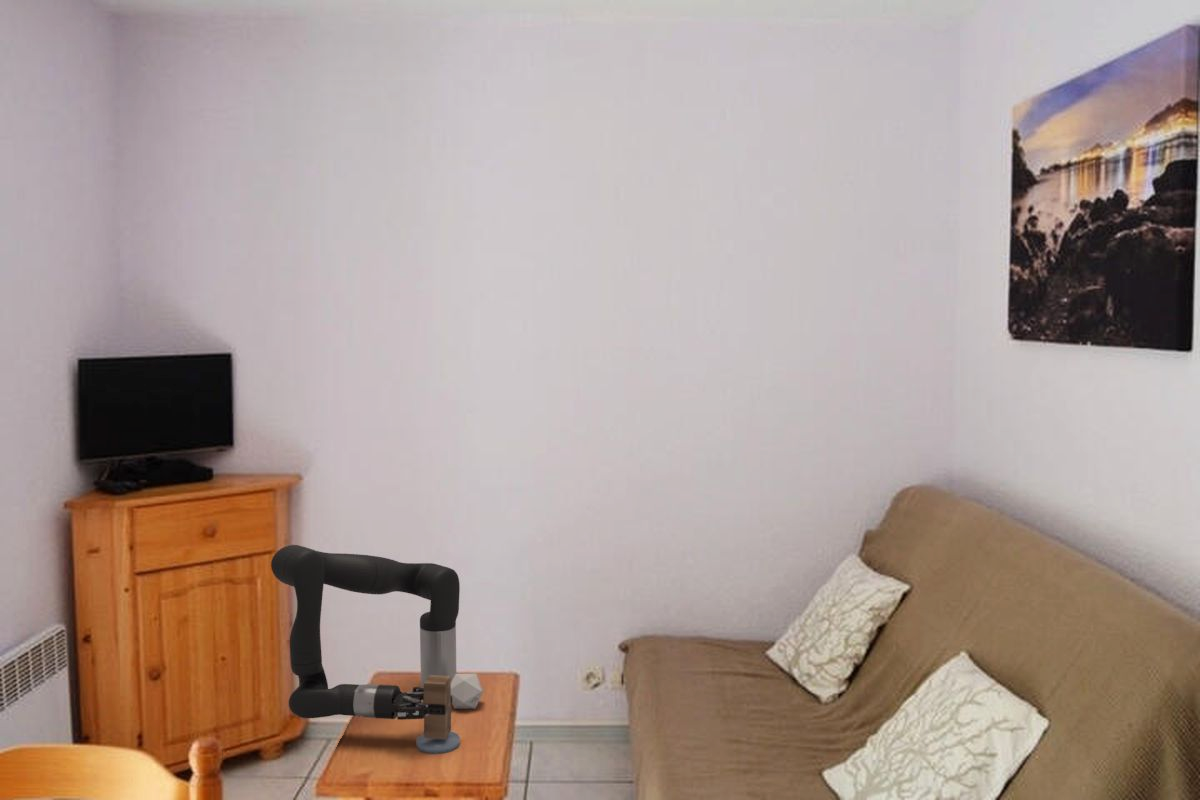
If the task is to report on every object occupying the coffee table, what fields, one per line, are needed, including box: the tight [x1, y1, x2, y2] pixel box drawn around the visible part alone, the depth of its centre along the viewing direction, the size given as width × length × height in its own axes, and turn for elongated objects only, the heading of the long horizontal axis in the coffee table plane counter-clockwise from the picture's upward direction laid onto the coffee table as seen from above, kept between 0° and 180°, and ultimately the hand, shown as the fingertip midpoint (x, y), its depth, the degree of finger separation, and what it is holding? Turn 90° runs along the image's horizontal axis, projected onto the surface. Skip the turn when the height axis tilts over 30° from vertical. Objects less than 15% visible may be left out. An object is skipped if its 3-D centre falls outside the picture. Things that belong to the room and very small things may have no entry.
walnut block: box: [423, 675, 452, 739], centre depth 252 cm, size 5×5×13 cm
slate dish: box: [415, 731, 461, 755], centre depth 253 cm, size 10×10×1 cm
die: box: [451, 673, 484, 710], centre depth 274 cm, size 8×9×10 cm
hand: (448, 705), depth 251 cm, fingers closed on walnut block, 5 cm apart
